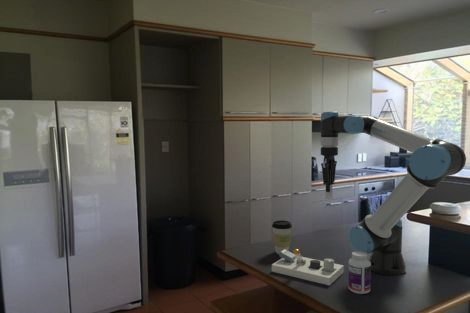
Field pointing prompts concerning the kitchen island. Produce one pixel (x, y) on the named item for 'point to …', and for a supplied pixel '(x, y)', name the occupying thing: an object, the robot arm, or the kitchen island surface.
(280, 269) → the panel
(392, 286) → the kitchen island surface
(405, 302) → the kitchen island surface
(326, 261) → the button grey
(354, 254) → the pill bottle
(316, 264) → the button black
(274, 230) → the coffee cup
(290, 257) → the slate blue block
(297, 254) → the lever
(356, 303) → the kitchen island surface
